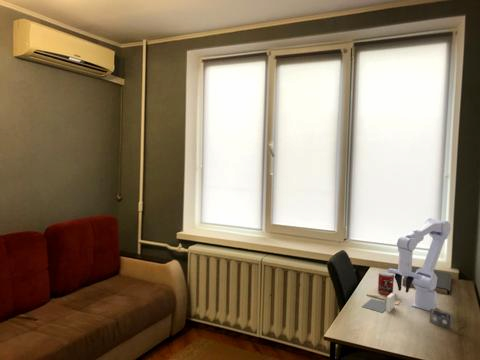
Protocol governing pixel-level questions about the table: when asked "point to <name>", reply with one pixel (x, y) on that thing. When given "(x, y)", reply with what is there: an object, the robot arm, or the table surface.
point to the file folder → (442, 281)
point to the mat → (375, 305)
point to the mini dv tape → (440, 318)
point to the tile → (390, 302)
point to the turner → (383, 298)
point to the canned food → (385, 283)
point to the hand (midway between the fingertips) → (403, 291)
